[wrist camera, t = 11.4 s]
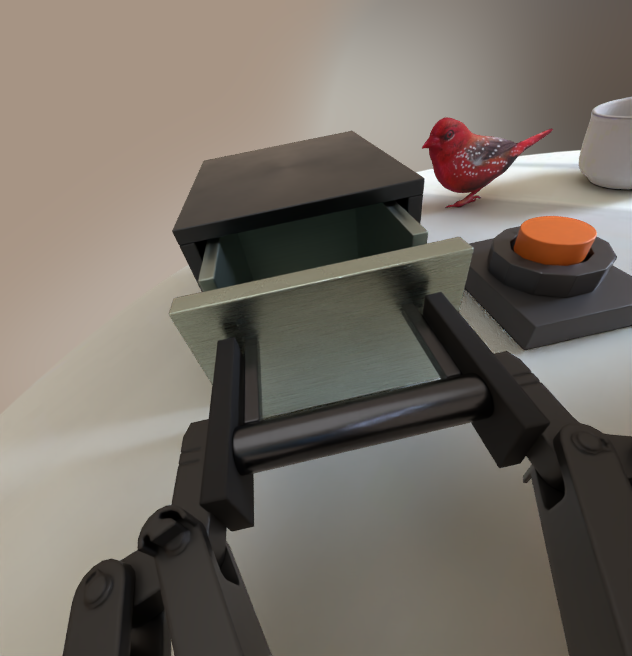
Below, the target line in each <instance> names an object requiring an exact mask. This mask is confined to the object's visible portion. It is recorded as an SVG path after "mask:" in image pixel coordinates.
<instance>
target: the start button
mask: <svg viewBox="0 0 632 656" xmlns="http://www.w3.org/2000/svg"><path fill="white" fill-rule="evenodd" d="M596 236H597V232H596V230H595V229H594V228H593V227H592V226H591V225H589V224H587V223H585V222H583V221H580V220H577V219H573V218H567V217H559V216H543V217H536V218H532V219H529V220H527V221H525V222H524V223H523V224H522V225H521V227H520V230H519V233H518V236H517V239H516V242H515V245H514V252H515V253H517V254H518V255H520V256H521V257H522V258H524V259H527V260H531V261H534V262H537V263H541V264H544V265H559V266H569V265H574V264H578V263H580V262H582V261H583V260H584V259H585V257H586V255H587V253H588V252H589V250H590V248H591V246H592V244H593V242H594V240H595V238H596Z"/></svg>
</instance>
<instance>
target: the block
mask: <svg viewBox="0 0 632 656" xmlns="http://www.w3.org/2000/svg"><path fill="white" fill-rule="evenodd" d="M520 227H521V226H519V227H514V228H510V229H506V230H504V231H503V232H502V233H500V234H499V235H498V236H496V237H495V238H493V239H489V240H484V241H480V242H475V243H470V244H469V245H471V246H472V247H473V249H474V250H473V254H472V258H471V263H470V267H469V271H468V275H467V280H466V284H465V289H466V290H467V291H468V292H469V293H470V294H471V295H472V296H473V297H474V298H475V299H476V300H477V301H478V302H479V303H480V304H481V305H482V306H483V307H484V308H485V309H486V310H487V311H488V312H489V314H490V315H491V316H492V317H493V318H494V319H495V320H496V321H497V322H498V323H499V324H500V325H501V326H502V327H503V328H504V329H505V330H506V331H507V332H508V333H509V334H510V335H511V336H512V337H513V338H514V339H515V341H516V342H517V343H518V344H519V345H520V346H521V347H522V348H523V349H524V350H526V349H531V348H535V347H539V346H544V345H548V344H552V343H557V342H561V341H566V340H570V339H574V338H579V337H583V336H587V335H592V334H596V333H600V332H605V331H609V330H614V329H618V328H622V327H627V326H631V325H632V276H631V275H629V274H627V273H625V272H623V271H622V270H620V269H618V268H616V267H614V266H613V263H614V262H615V260H616V258H617V256H616V254H615V252H614V251H613V249H612V247H611V246H610V244H609V243H608V242H606V241H604V240H602V239H600V238H598V237H596V238H595V240H594V242H593V244H592V246H591V248H590V250H589V252H588V253H587V255H586V257H585V259H584V260H583V261H582V262H580V263H578V264H574V265H569V266H559V265H544V264H541V263H537V262H534V261H531V260H527V259H524V258H522V257H521V256H520V255H518V254H517V253H515V252H514V245H515V242H516V239H517V236H518V233H519V230H520Z"/></svg>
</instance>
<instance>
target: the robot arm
mask: <svg viewBox="0 0 632 656" xmlns="http://www.w3.org/2000/svg"><path fill="white" fill-rule="evenodd" d="M423 317H424V318H425V320H426V321H427V323H428V324H429V326H430V327H431V328H432V330H433V331H434V333H435V334H436V336H437V337H438V339H439V340H440V342H441V343H442V344H443V346H444V347H445V349H446V350H447V352H448V353H449V355H450V356H451V357H452V359H453V360H454V362H455V363H456V365H457V366H458V368H459V369H460V370H461V372H462V374H466V373H476V374H477V375H479V376H480V377H481V378H482V379H483V380H484V382H485V383H486V385H487V386H488V388H489V390H490V393H491V395H492V399H493V404H494V411H493V414H492V416H491V417H490V418H488V419H483V420H479V421H475V422H471V423H472V425H473V427H474V428H475V430H476V431H477V433H478V435H479V436H480V438H481V440H482V441H483V443H484V444H485V446H486V448H487V449H488V451H489V453H490V454H491V456H492V457H493V459H494V461H495V462H496V464H497V466H498V467H499V468H503V467H507V466H511V465H515V464H520V463H521V462H522V460H523V459H524V458H525V456H527V458H528V459H529V461H530V462H531V463H532V465H531V466H530V468H529V469H528V470H527V471H526V473H525V474H524V476H523V483H528V481H529V480H530V479H531V478H532V484H533V488H534V492H535V497H536V502H537V506H538V511H539V516H540V520H541V525H542V530H543V535H544V539H545V544H546V549H547V553H548V558H549V563H550V567H551V572H552V577H553V582H554V586H555V591H556V596H557V600H558V605H559V610H560V614H561V619H562V624H563V629H564V633H565V638H566V643H567V647H568V652H569V656H632V437H631V436H619V435H609V434H603V433H602V432H601V431H599V430H597V429H595V428H593V427H591V426H589V425H585V424H582V423H579V422H578V421H577V420H576V419H575V418H574V417H572V416H571V414H570V413H569V412H568V411H567V410H566V409H565V408H564V407H563V406H562V405H561V403H560V402H559V401H558V400H557V399H556V398H555V397H554V396H553V395H552V394H551V392H550V391H549V390H548V389H547V388H546V387H545V386H544V385H543V384H542V383H540V382H539V379H538V378H537V377H536V376H535V375H534V374H533V373H531V371H530V369H529V368H528V367H527V366H526V365H525V364H524V363H523V362H522V361H521V360H520V359H519V358H517V357H515V356H514V355H512V354H510V353H509V352H507V351H505V352H501V353H496V354H493V353H492V352H491V350H490V349H489V348H488V347H487V346H486V344H485V343H484V342H483V341H482V340H481V338H480V337H479V336H478V335H477V334H476V332H475V331H474V330H473V329H472V328H471V327H470V325H469V324H468V323H467V322H466V321H465V319H464V318H463V317H462V316H461V315H460V313H459V312H458V311H457V310H456V309H455V307H454V306H453V305H452V304H451V303H450V301H449V300H448V299H447V298H446V297H445V295H444V294H443V293H442V292H438V293H433V294H429V295H425V299H424V307H423ZM243 414H244V356H243V354H242V352H241V350H240V347H239V345H238V343H237V341H236V339H235V337H232V338H228V339H223V340H219V341H218V342H217V350H216V359H215V368H214V377H213V386H212V395H211V404H210V412H209V419H207V420H203V421H198V422H194V423H191V424H190V426H189V428H188V430H187V431H186V433H185V435H184V437H183V442H182V448H181V454H180V459H179V467H178V471H177V476H176V482H175V488H174V493H173V499H172V505H168V506H165V507H163V508H161V509H159V510H157V511H156V512H155V513H154V514H153V515H151V516H150V517H149V518H148V520H147V521H146V523H145V524H144V526H143V527H142V529H141V532H140V535H139V538H138V550H137V551H135V552H134V553H132V554H130V555H129V556H127V557H126V558H124V559H122V560H121V561H118V560H115V559H108V560H104V561H102V562H100V563H99V564H97V565H96V566H94V567H93V568H92V569H91V570H90V571H89V572H88V573H87V574H86V575H85V576H84V577H83V579H82V581H81V582H80V584H79V586H78V587H77V589H76V592H75V595H74V598H73V601H72V606H71V612H70V617H69V623H68V628H67V634H66V640H65V645H64V651H63V656H171V641H172V645H173V650H174V655H175V656H272V654H271V652H270V649H269V647H268V644H267V642H266V639H265V636H264V634H263V631H262V629H261V626H260V624H259V621H258V618H257V616H256V613H255V611H254V608H253V605H252V603H251V600H250V598H249V595H248V593H247V590H246V587H245V585H244V582H243V580H242V577H241V575H240V572H239V569H238V567H237V564H236V562H235V559H234V556H233V554H232V551H231V549H230V546H229V544H228V543H227V541H226V529H227V528H228V529H229V530H230V531H237V530H241V529H245V528H249V527H253V526H254V478H253V474H250V475H245V476H241V475H240V474H239V473H238V471H237V468H236V466H235V462H234V458H233V451H232V436H233V431H234V429H235V427H237V426H240V425H244V423H243Z"/></svg>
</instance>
